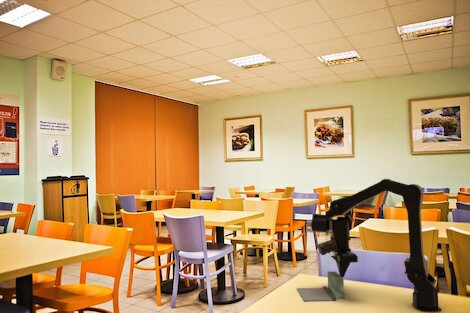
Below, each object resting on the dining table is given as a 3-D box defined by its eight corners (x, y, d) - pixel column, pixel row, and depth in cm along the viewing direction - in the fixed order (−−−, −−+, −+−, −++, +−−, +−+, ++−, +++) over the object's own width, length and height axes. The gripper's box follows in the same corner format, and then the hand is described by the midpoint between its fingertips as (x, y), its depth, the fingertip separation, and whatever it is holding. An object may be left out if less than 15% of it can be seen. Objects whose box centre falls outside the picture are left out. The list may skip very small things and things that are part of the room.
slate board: (326, 288, 140) (325, 285, 140) (336, 300, 126) (336, 297, 126) (296, 289, 140) (296, 286, 140) (303, 301, 126) (303, 298, 126)
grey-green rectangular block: (336, 290, 138) (335, 271, 139) (344, 299, 128) (343, 278, 129) (328, 290, 138) (327, 271, 139) (335, 299, 128) (334, 278, 129)
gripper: (313, 230, 144) (314, 271, 143) (324, 238, 125) (326, 284, 124) (341, 229, 144) (342, 270, 143) (357, 237, 125) (359, 284, 124)
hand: (341, 277), depth 134 cm, fingers closed
